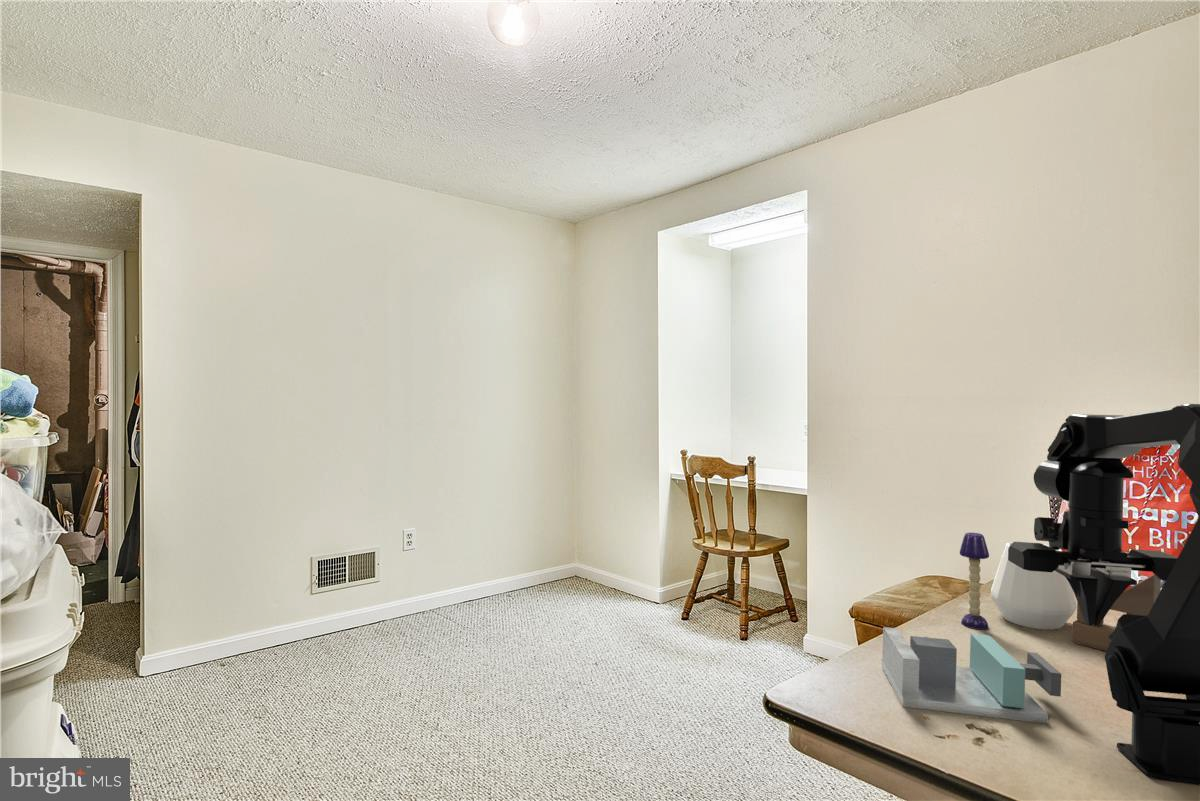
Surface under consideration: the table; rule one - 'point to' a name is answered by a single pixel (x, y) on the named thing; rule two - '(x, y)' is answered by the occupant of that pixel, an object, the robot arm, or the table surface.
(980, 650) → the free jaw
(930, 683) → the steel block
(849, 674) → the table surface
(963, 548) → the toy lamp
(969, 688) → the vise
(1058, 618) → the white faceted vase
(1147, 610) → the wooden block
